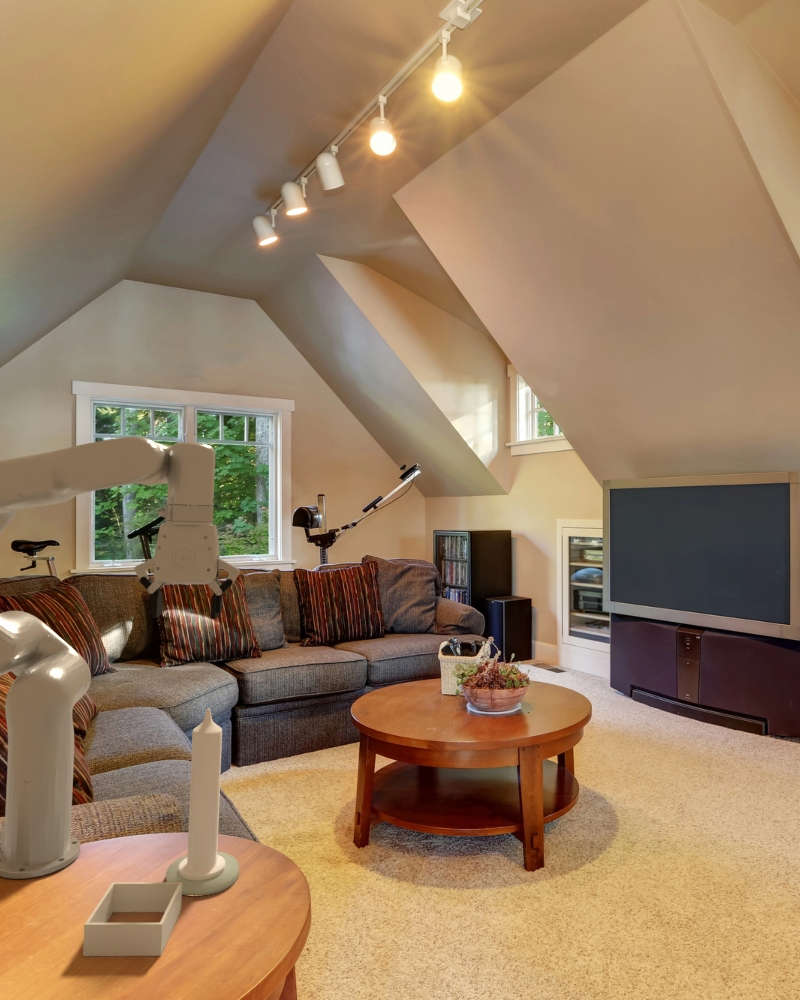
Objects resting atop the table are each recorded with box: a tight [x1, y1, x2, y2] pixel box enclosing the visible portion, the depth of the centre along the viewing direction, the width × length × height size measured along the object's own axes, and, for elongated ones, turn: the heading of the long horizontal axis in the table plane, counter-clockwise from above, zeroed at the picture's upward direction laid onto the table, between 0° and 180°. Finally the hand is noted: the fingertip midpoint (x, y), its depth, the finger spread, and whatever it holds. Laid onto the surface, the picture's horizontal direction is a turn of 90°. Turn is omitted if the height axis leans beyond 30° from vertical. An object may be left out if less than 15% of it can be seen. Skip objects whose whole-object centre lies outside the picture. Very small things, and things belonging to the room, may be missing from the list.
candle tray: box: [82, 881, 183, 957], centre depth 91 cm, size 10×10×4 cm
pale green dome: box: [165, 851, 240, 896], centre depth 105 cm, size 11×11×1 cm
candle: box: [178, 708, 225, 881], centre depth 105 cm, size 7×7×25 cm
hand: (185, 617), depth 113 cm, fingers open, 9 cm apart
